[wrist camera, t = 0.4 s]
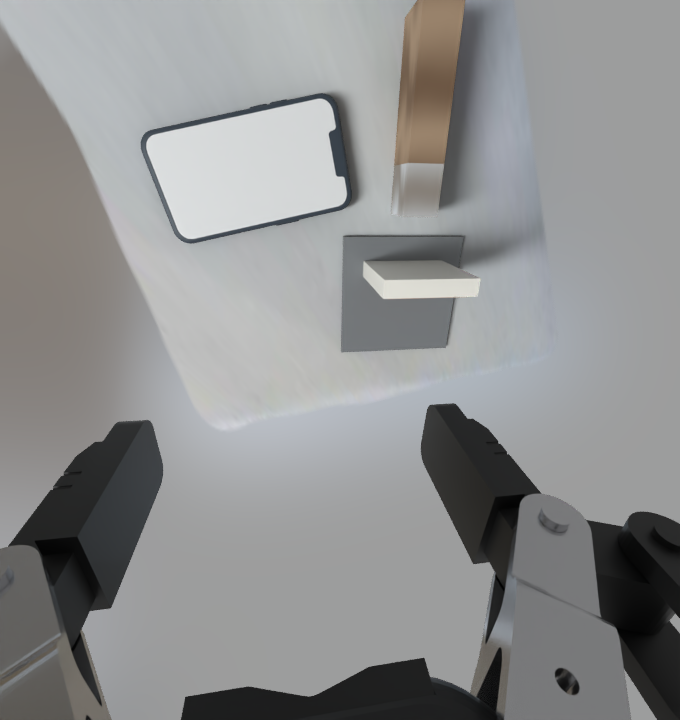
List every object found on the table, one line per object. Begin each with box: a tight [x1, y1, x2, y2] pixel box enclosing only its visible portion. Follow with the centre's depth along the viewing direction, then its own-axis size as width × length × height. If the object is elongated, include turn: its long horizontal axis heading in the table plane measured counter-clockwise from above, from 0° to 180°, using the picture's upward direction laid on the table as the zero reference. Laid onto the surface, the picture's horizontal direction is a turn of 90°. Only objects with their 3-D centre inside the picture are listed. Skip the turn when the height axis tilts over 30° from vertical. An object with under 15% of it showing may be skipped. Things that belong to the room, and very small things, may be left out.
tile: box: [363, 260, 481, 299], centre depth 32 cm, size 2×8×8 cm, turn 89°
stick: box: [391, 0, 465, 217], centre depth 28 cm, size 14×3×4 cm, turn 179°
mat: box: [341, 236, 464, 352], centre depth 37 cm, size 12×12×1 cm
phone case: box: [141, 93, 352, 243], centre depth 30 cm, size 9×2×16 cm
